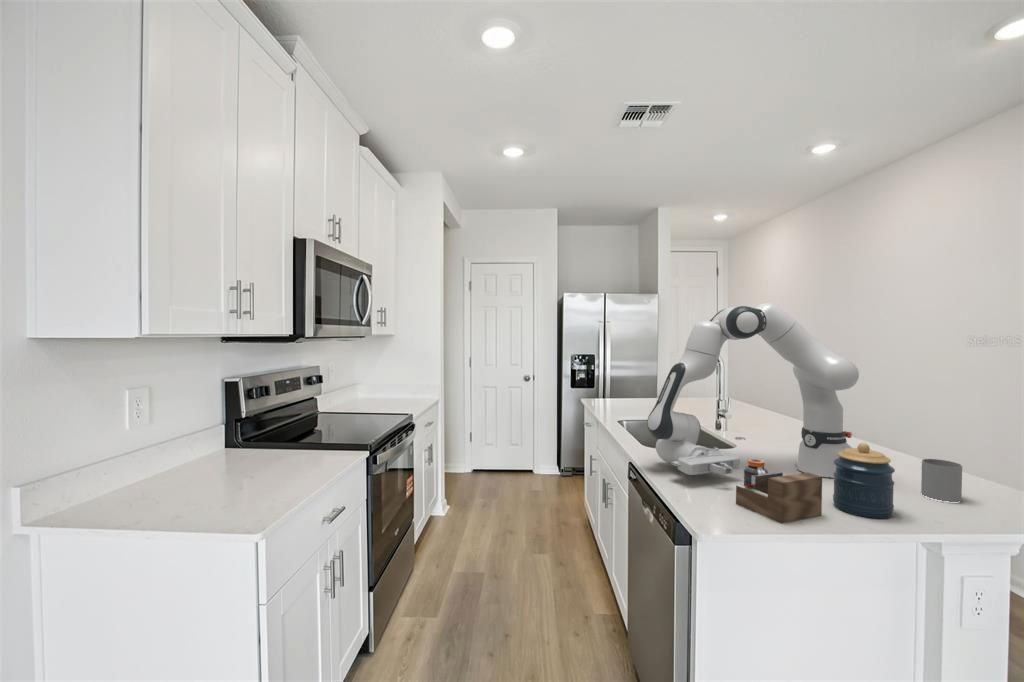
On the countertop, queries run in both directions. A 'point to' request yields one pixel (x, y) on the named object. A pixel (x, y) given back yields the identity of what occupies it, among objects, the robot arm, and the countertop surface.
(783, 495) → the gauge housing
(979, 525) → the countertop surface
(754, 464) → the pill bottle
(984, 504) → the countertop surface
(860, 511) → the canister
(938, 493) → the cup
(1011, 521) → the countertop surface
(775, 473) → the brushed metal plate
